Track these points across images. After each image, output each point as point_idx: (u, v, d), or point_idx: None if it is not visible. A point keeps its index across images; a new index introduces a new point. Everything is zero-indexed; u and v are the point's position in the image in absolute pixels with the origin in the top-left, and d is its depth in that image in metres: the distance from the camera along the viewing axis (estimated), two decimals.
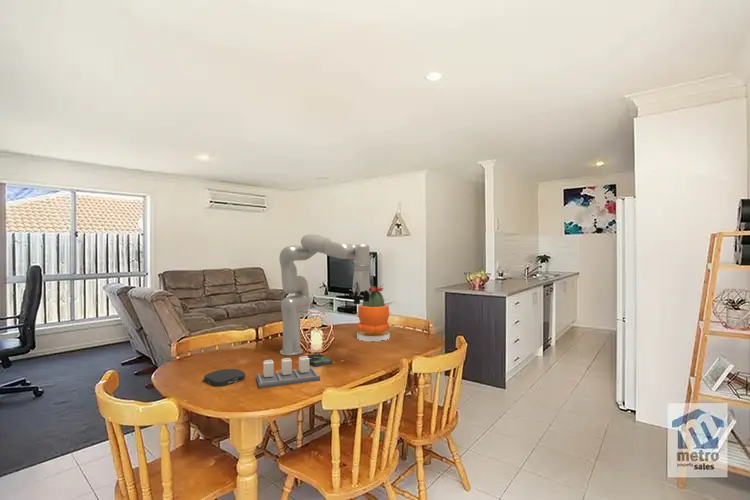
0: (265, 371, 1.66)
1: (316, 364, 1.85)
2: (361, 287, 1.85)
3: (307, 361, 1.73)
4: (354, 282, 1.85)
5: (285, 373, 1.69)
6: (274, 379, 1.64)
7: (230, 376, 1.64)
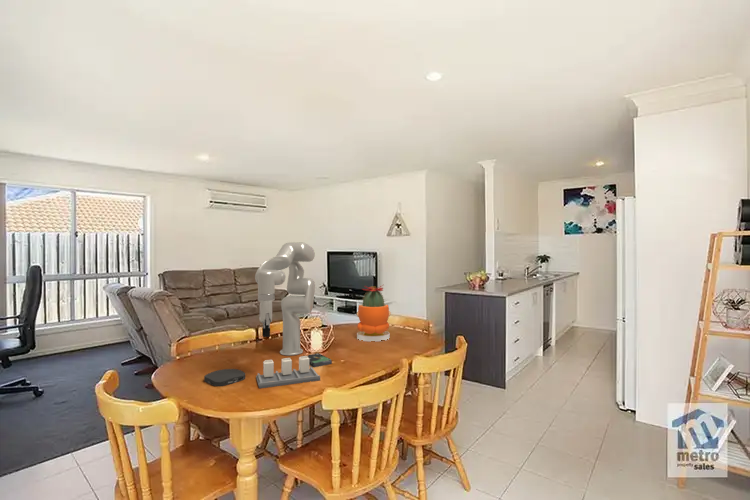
0: (265, 371, 1.66)
1: (315, 364, 1.85)
2: (271, 317, 1.73)
3: (307, 361, 1.73)
4: (264, 313, 1.71)
5: (285, 373, 1.69)
6: (274, 379, 1.64)
7: (230, 376, 1.64)
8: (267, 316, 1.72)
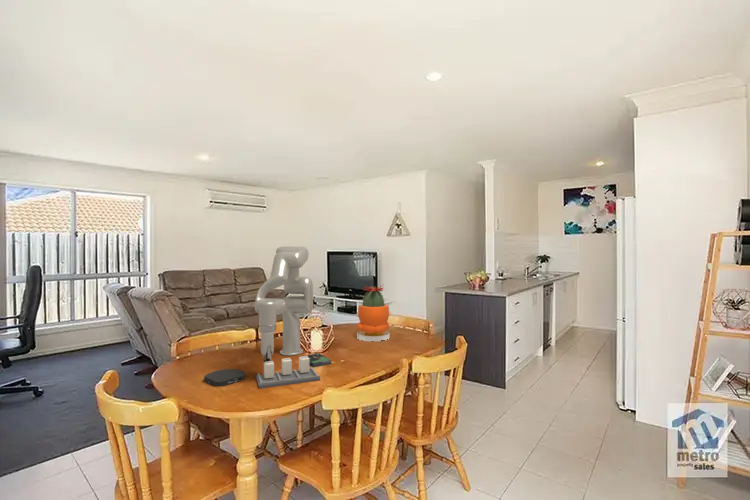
0: (265, 372, 1.64)
1: (314, 364, 1.85)
2: None
3: (307, 361, 1.73)
4: (265, 345, 1.66)
5: (285, 373, 1.69)
6: (274, 379, 1.64)
7: (230, 376, 1.64)
8: (268, 348, 1.67)
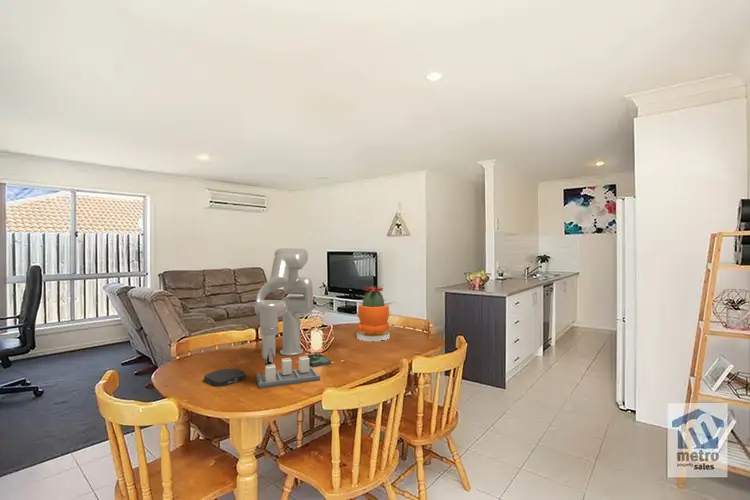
0: (267, 376, 1.60)
1: (314, 364, 1.85)
2: None
3: (307, 361, 1.73)
4: (267, 348, 1.61)
5: (285, 373, 1.69)
6: None
7: (230, 376, 1.64)
8: (270, 351, 1.62)
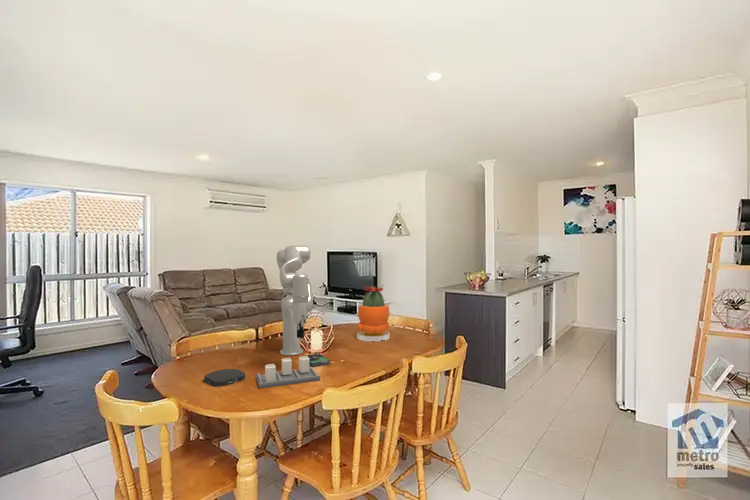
0: (267, 376, 1.60)
1: (313, 364, 1.85)
2: None
3: (307, 361, 1.73)
4: (299, 314, 1.77)
5: (285, 373, 1.69)
6: None
7: (230, 376, 1.64)
8: (302, 318, 1.78)
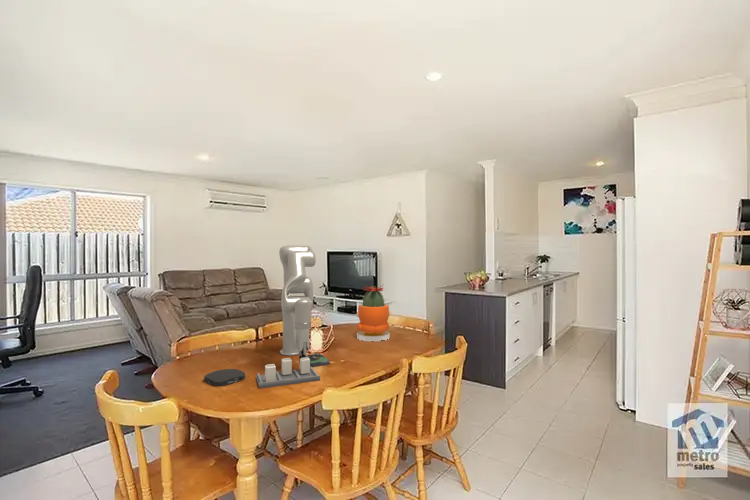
0: (267, 376, 1.60)
1: (312, 364, 1.85)
2: None
3: (308, 362, 1.71)
4: (302, 342, 1.72)
5: (285, 373, 1.69)
6: None
7: (230, 376, 1.64)
8: (304, 345, 1.73)
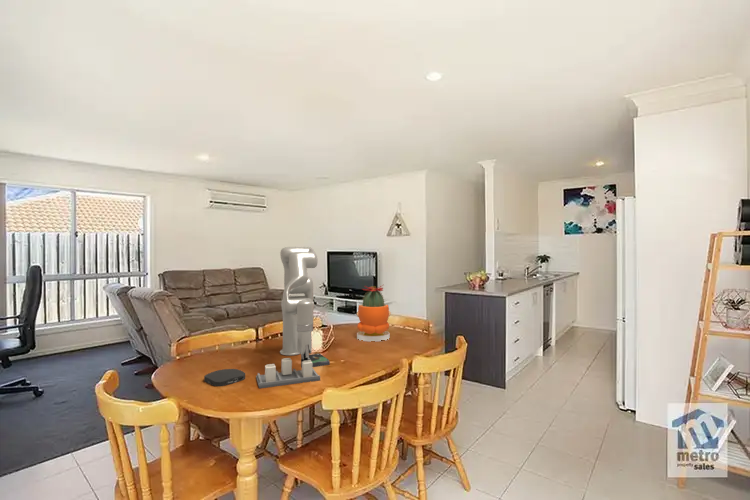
0: (267, 376, 1.60)
1: None
2: None
3: (310, 365, 1.67)
4: (304, 345, 1.67)
5: (285, 373, 1.69)
6: None
7: (230, 376, 1.64)
8: (307, 348, 1.68)
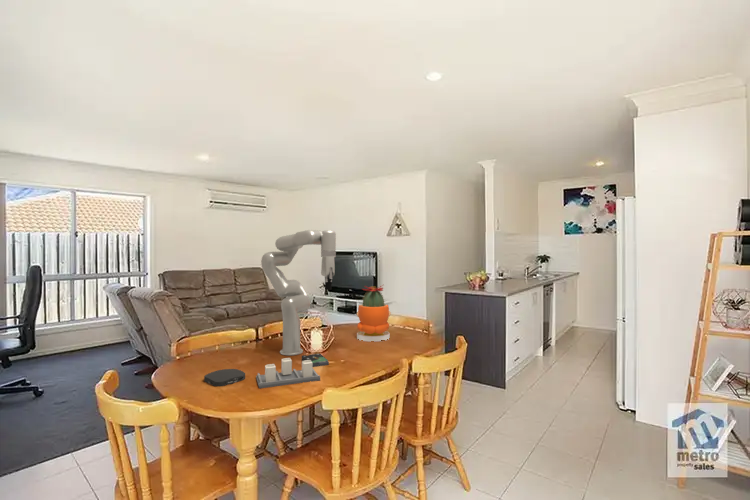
0: (267, 376, 1.60)
1: None
2: None
3: (310, 365, 1.67)
4: (328, 267, 1.90)
5: (285, 373, 1.69)
6: None
7: (230, 376, 1.64)
8: (330, 270, 1.91)
